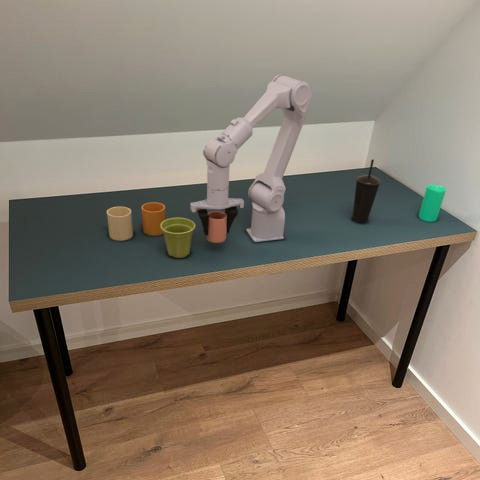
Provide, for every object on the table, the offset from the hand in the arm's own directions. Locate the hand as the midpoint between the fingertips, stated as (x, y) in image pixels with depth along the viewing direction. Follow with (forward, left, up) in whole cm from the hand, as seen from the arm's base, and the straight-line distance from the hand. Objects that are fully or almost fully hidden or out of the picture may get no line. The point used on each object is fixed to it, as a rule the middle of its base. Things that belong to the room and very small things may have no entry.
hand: (216, 232), depth 144 cm
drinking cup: (-51, -8, -5) cm, 52 cm away
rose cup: (0, 0, -2) cm, 2 cm away
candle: (-75, -5, -5) cm, 75 cm away
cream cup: (+25, -14, -5) cm, 29 cm away
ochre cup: (+15, -15, -5) cm, 22 cm away
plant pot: (+11, 0, -5) cm, 12 cm away
